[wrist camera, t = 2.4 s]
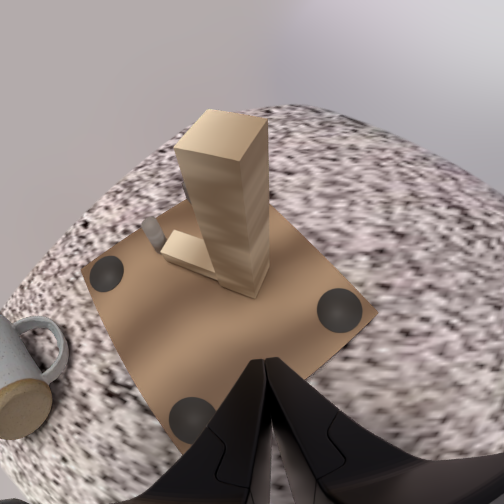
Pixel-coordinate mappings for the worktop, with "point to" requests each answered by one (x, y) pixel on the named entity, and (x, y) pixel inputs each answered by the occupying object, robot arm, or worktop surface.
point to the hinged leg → (225, 200)
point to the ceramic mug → (25, 378)
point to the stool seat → (216, 317)
